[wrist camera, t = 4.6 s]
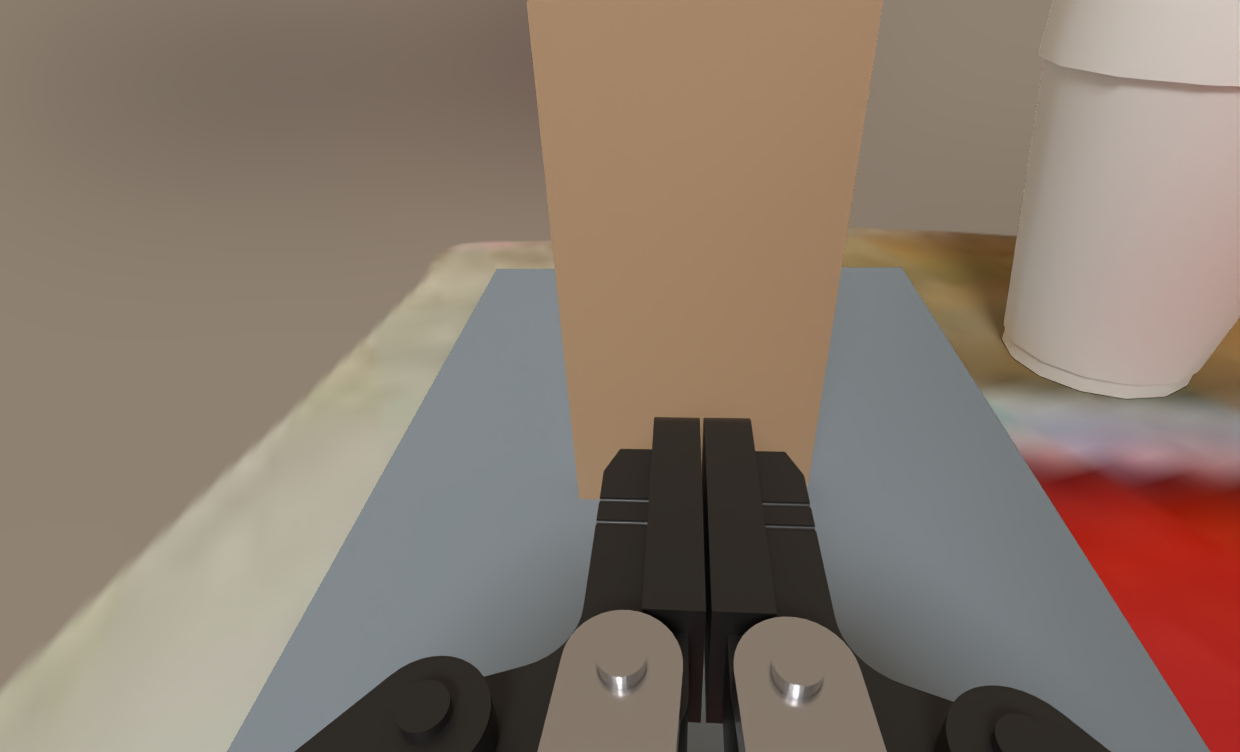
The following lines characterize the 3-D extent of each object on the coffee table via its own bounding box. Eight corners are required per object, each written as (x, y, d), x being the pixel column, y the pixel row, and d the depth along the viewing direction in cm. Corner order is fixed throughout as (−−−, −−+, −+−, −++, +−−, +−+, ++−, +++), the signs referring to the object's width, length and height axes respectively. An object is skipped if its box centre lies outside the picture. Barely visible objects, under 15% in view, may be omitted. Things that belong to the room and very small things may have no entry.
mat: (899, 278, 32) (901, 267, 32) (1434, 1156, 9) (1463, 1149, 9) (498, 279, 34) (496, 268, 34) (104, 1012, 11) (87, 1000, 11)
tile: (586, 459, 21) (543, -7, 14) (796, 464, 21) (863, -21, 13) (579, 499, 20) (526, 1, 13) (804, 505, 19) (885, -14, 12)
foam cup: (1207, 318, 28) (1392, -45, 21) (1284, 450, 21) (1602, -25, 14) (961, 286, 31) (1047, -36, 24) (958, 391, 24) (1077, -16, 17)
